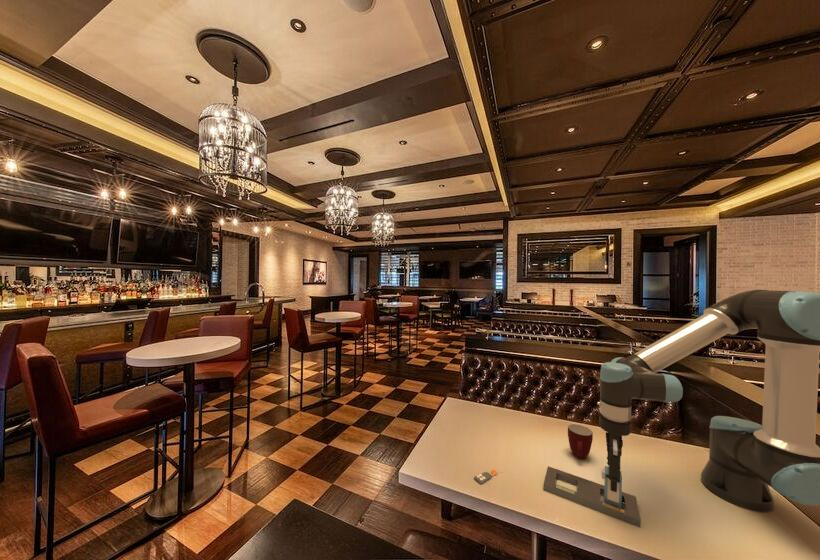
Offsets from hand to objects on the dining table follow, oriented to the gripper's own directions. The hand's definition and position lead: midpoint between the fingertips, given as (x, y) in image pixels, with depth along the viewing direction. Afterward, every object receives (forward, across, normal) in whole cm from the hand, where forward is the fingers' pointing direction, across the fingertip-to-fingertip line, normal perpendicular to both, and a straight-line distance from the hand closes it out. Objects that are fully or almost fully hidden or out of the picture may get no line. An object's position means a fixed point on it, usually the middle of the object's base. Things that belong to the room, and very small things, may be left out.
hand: (612, 494), depth 84 cm
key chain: (+4, +8, -34) cm, 35 cm away
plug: (+3, 0, 0) cm, 3 cm away
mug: (+3, -20, -9) cm, 23 cm away
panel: (+3, 0, -6) cm, 7 cm away
